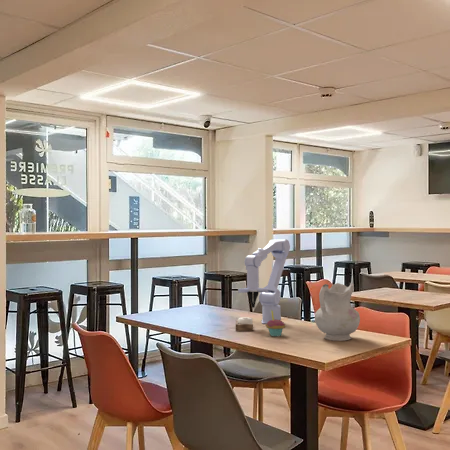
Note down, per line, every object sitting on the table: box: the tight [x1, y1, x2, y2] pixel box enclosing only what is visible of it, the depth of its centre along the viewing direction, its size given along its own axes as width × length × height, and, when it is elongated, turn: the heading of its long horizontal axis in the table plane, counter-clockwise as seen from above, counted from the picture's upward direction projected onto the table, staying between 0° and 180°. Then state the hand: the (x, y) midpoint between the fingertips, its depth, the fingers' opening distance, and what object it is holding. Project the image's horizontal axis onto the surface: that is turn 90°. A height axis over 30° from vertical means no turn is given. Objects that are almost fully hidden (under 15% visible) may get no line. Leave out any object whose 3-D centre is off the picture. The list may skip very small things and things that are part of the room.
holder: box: [235, 320, 254, 332], centre depth 272 cm, size 8×11×3 cm
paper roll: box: [237, 316, 253, 324], centre depth 272 cm, size 7×7×5 cm
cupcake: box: [265, 309, 286, 337], centre depth 256 cm, size 9×8×12 cm
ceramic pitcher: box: [314, 282, 361, 342], centre depth 247 cm, size 22×20×25 cm
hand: (253, 307), depth 278 cm, fingers closed
